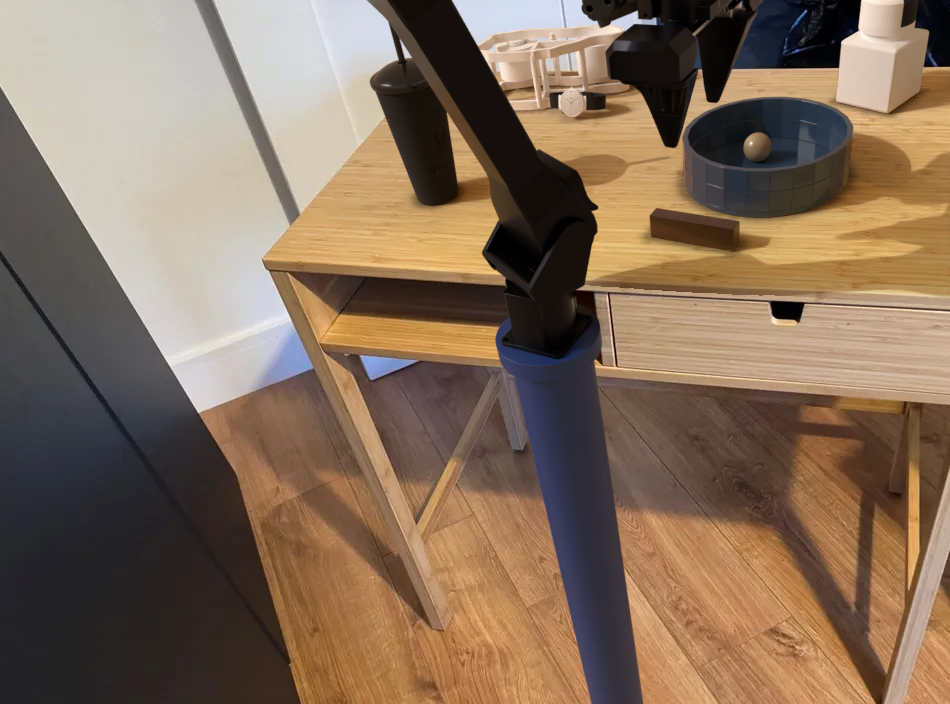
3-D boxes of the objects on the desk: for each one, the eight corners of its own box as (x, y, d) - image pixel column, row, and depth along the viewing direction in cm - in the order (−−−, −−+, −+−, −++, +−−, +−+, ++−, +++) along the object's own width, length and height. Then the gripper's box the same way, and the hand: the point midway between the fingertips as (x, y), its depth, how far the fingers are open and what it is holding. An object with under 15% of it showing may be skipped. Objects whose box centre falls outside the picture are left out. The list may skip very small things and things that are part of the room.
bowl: (818, 229, 80) (822, 180, 76) (658, 203, 87) (655, 159, 83) (867, 149, 90) (873, 104, 86) (720, 133, 97) (720, 90, 93)
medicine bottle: (867, 81, 102) (879, -26, 94) (920, 92, 98) (938, -18, 89) (834, 102, 99) (844, -6, 90) (887, 115, 95) (903, 2, 86)
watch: (544, 117, 105) (540, 89, 103) (559, 102, 108) (555, 74, 106) (600, 120, 103) (596, 91, 100) (613, 104, 106) (610, 76, 103)
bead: (739, 161, 88) (747, 133, 87) (740, 154, 91) (748, 126, 89) (767, 167, 88) (775, 139, 86) (766, 160, 91) (775, 132, 89)
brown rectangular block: (657, 229, 83) (656, 207, 81) (739, 243, 79) (739, 220, 78) (650, 237, 82) (649, 215, 81) (733, 251, 79) (733, 229, 77)
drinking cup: (393, 209, 93) (334, 21, 79) (426, 177, 98) (376, -6, 84) (451, 214, 90) (400, 21, 76) (482, 181, 95) (440, -7, 81)
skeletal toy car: (635, 73, 113) (631, 16, 108) (621, 107, 105) (616, 47, 100) (498, 79, 117) (487, 24, 112) (475, 112, 110) (463, 55, 105)
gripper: (644, -110, 70) (655, 75, 81) (532, -42, 60) (563, 161, 71) (768, -113, 66) (763, 84, 77) (671, -40, 55) (681, 177, 66)
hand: (692, 123), depth 73 cm, fingers open, 9 cm apart
